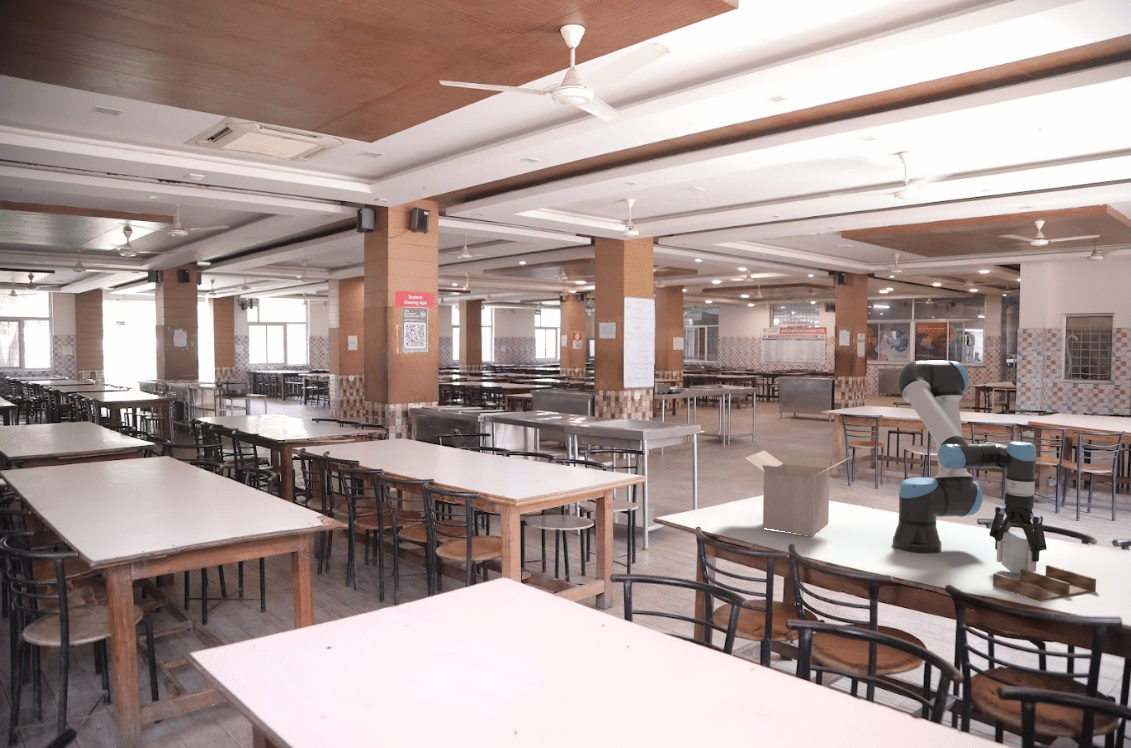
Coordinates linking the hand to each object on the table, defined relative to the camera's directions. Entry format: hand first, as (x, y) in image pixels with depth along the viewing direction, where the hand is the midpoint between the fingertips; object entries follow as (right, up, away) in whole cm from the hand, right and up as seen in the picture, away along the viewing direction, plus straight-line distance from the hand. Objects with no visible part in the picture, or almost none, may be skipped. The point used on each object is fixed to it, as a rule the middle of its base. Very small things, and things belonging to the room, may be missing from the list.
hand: (1015, 566), depth 229 cm
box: (-49, 0, +57) cm, 75 cm away
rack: (0, -3, -14) cm, 14 cm away
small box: (0, -1, 0) cm, 1 cm away
